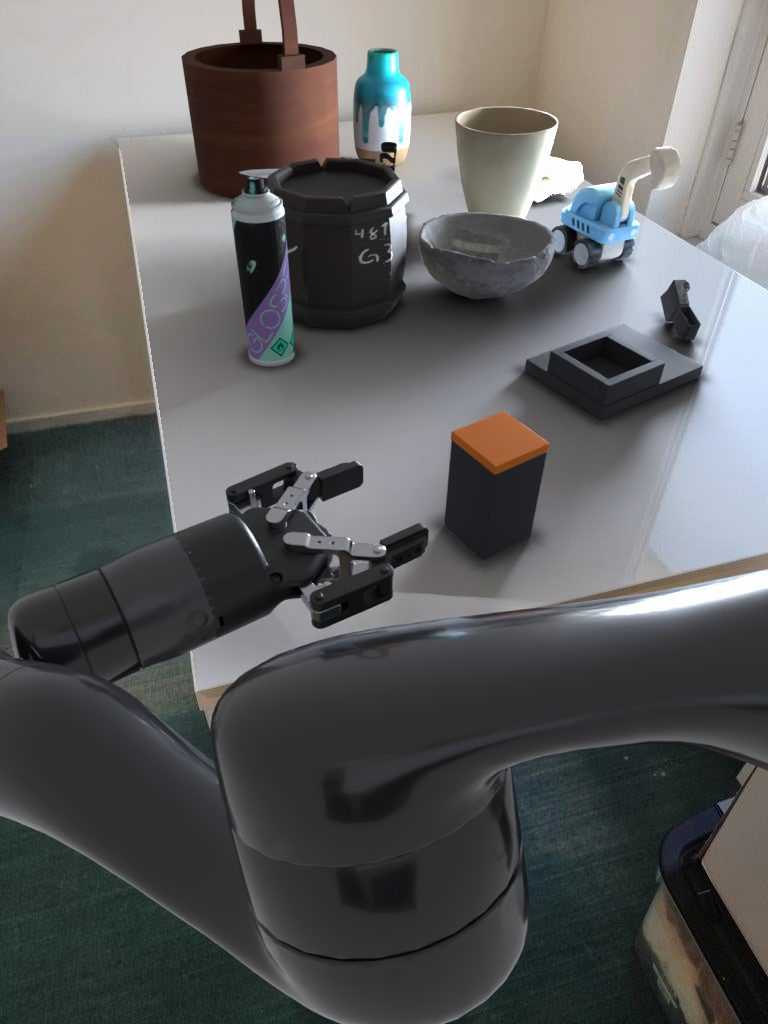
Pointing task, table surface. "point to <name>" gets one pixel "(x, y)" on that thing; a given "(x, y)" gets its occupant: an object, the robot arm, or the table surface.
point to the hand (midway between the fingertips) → (391, 502)
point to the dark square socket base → (613, 370)
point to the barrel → (343, 239)
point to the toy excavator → (612, 210)
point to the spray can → (263, 273)
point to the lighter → (680, 310)
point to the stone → (559, 178)
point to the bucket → (260, 103)
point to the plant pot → (503, 157)
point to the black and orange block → (494, 483)
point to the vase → (382, 107)
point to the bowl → (485, 252)
